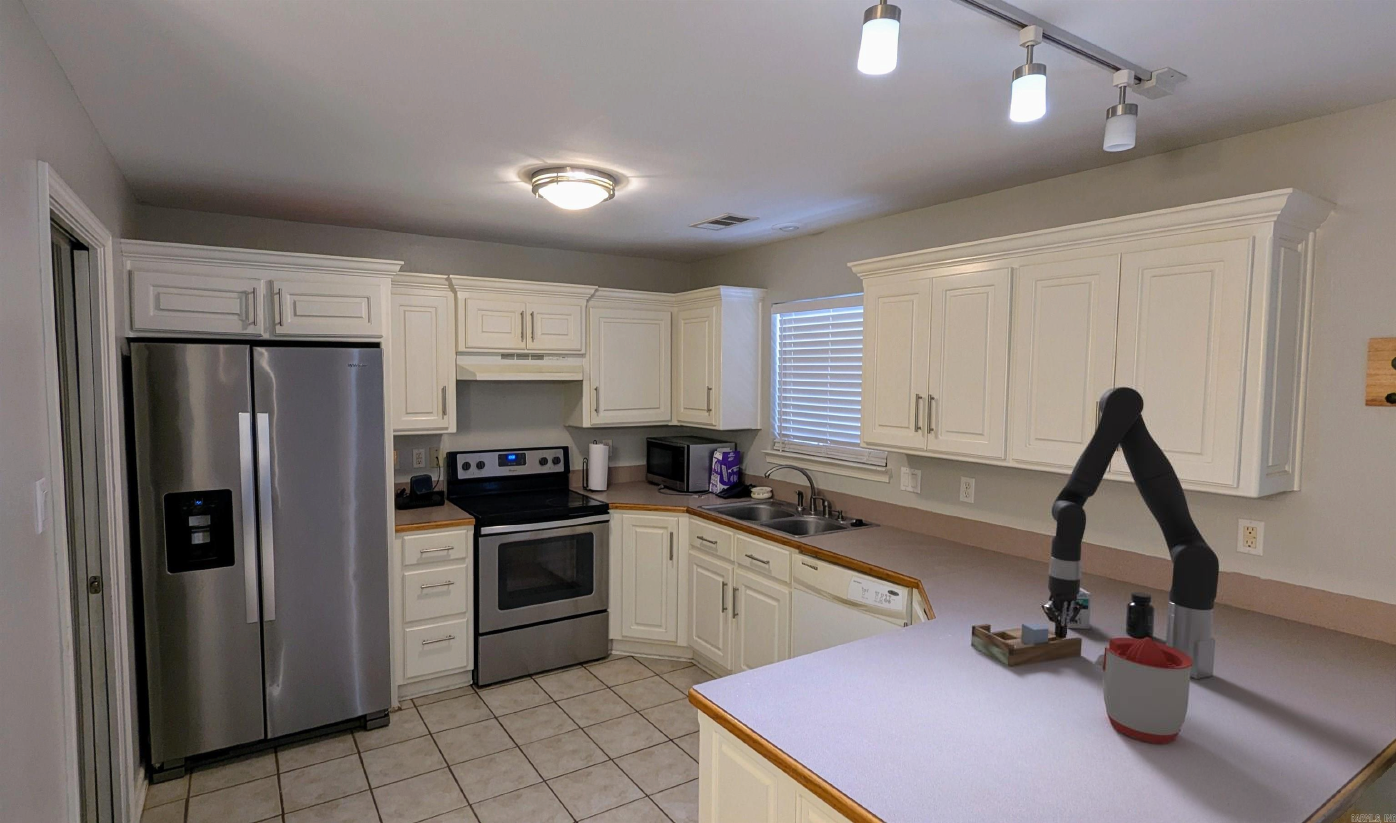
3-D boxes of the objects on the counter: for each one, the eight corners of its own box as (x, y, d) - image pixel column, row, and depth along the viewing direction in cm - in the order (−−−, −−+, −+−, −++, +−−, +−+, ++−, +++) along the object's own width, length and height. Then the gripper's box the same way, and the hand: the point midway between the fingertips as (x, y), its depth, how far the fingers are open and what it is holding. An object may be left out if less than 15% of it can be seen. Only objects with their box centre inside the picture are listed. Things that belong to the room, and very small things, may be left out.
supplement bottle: (1145, 631, 204) (1147, 591, 203) (1158, 640, 197) (1161, 598, 196) (1120, 629, 204) (1123, 589, 203) (1132, 638, 197) (1135, 597, 197)
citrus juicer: (1097, 702, 159) (1102, 616, 157) (1190, 728, 148) (1197, 636, 146) (1083, 728, 146) (1088, 635, 145) (1183, 759, 135) (1190, 659, 134)
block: (1047, 647, 182) (1048, 628, 182) (1033, 648, 181) (1034, 629, 181) (1035, 640, 186) (1036, 622, 186) (1021, 641, 185) (1022, 623, 185)
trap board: (1080, 654, 185) (1082, 634, 185) (1010, 666, 177) (1011, 645, 176) (1038, 635, 198) (1039, 616, 198) (971, 645, 190) (972, 625, 189)
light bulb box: (1090, 629, 204) (1092, 593, 204) (1066, 628, 204) (1069, 592, 204) (1071, 616, 215) (1073, 582, 214) (1049, 615, 215) (1051, 581, 214)
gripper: (1057, 580, 181) (1053, 645, 182) (1095, 576, 185) (1090, 639, 186) (1034, 572, 188) (1030, 635, 189) (1071, 568, 192) (1067, 629, 194)
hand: (1060, 637), depth 188 cm, fingers closed
